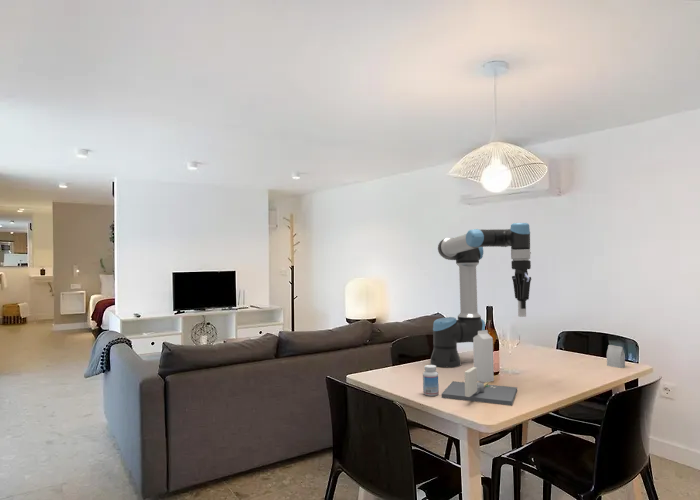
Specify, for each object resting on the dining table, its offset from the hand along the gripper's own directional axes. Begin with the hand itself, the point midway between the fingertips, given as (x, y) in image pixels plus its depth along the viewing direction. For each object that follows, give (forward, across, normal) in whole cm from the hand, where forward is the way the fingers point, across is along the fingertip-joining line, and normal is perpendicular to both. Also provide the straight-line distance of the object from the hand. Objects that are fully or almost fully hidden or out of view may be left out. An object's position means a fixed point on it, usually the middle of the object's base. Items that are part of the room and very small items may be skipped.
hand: (522, 316), depth 194 cm
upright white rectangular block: (+28, -10, +23) cm, 37 cm away
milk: (+30, +13, +12) cm, 34 cm away
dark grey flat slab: (+29, -7, +22) cm, 37 cm away
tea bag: (+30, +29, -60) cm, 73 cm away
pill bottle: (+30, -4, +41) cm, 50 cm away
